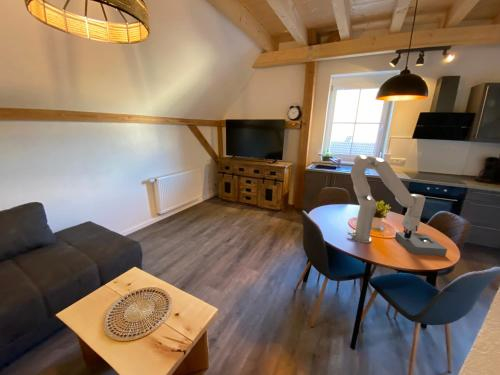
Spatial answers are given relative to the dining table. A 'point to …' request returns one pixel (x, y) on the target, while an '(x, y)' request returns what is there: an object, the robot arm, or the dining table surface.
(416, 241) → the board
